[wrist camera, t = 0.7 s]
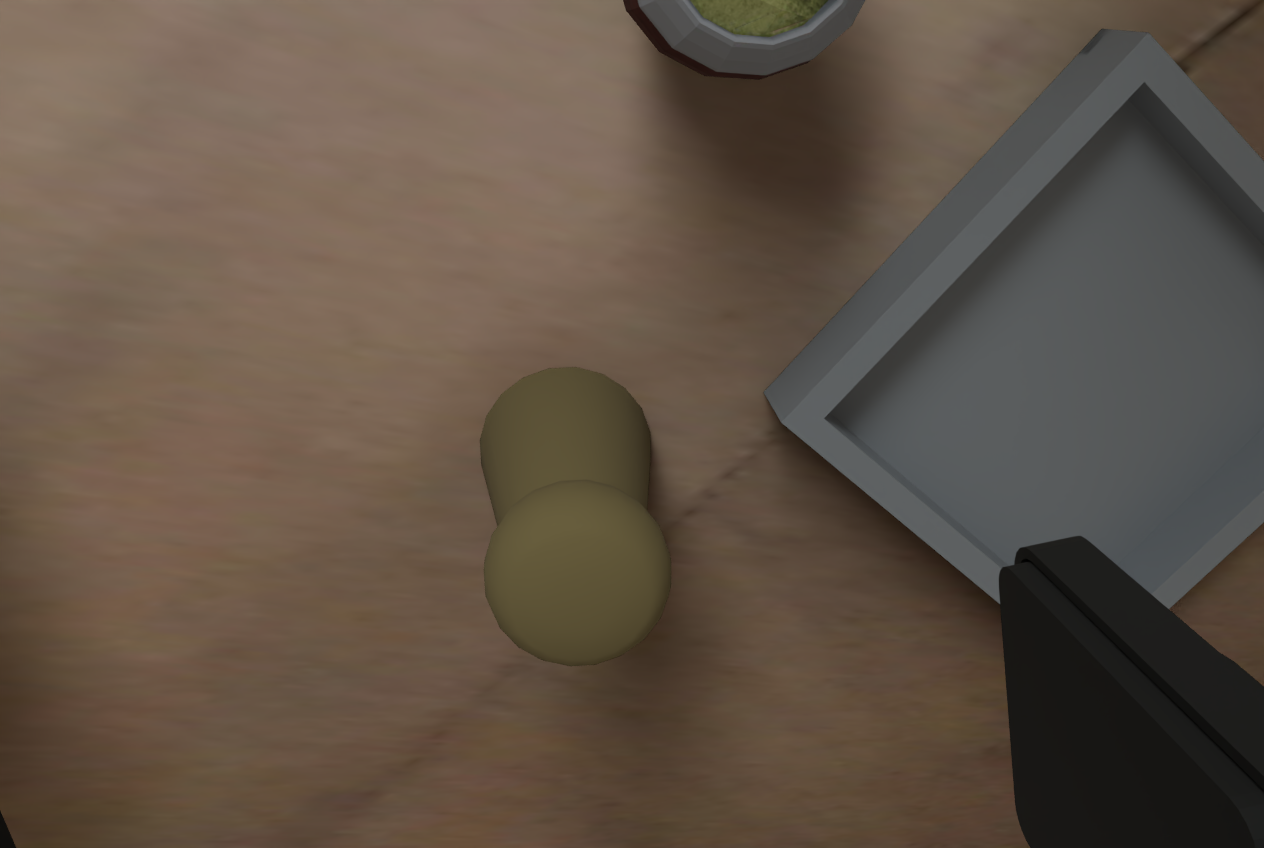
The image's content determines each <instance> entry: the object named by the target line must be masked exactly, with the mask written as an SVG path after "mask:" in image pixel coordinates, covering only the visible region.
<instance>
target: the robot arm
mask: <svg viewBox="0 0 1264 848" xmlns="http://www.w3.org/2000/svg"><path fill="white" fill-rule="evenodd" d="M999 595H1000V608H1001V622H1002V635H1003V648H1004V662H1005V675H1006V688H1007V701H1008V715H1009V728H1010V741H1011V755H1012V768H1013V781H1014V795H1015V805H1016V811H1017V816H1018V820H1019V823H1020V826H1021V829H1022V832H1023V834H1024V836H1025V839H1026V841H1027V842H1028V844H1029V846H1030V848H1264V687H1263V686H1262V685H1261V684H1260V683H1259V682H1258V681H1256V680H1255V679H1254V678H1253V677H1252V676H1250V675H1249V674H1248V673H1247V672H1246V671H1245V670H1243V669H1242V668H1241V667H1240V666H1239V665H1238V664H1236V663H1235V662H1234V661H1232V660H1231V659H1229V658H1227V657H1226V656H1224V655H1223V654H1221V653H1219V652H1218V651H1217V650H1216V649H1215V648H1213V647H1212V646H1211V645H1210V644H1209V643H1208V642H1206V641H1205V640H1204V639H1203V638H1202V637H1201V636H1199V635H1198V634H1197V633H1196V632H1195V631H1194V630H1192V629H1191V628H1190V627H1189V626H1188V625H1187V624H1185V623H1184V622H1183V621H1182V620H1181V619H1180V618H1178V617H1177V616H1176V615H1175V614H1174V613H1173V612H1171V611H1170V610H1169V609H1168V608H1167V607H1166V606H1164V605H1163V604H1162V603H1161V602H1160V601H1159V600H1157V599H1156V598H1155V597H1154V596H1153V595H1151V594H1150V593H1149V592H1148V591H1147V590H1146V589H1144V588H1143V587H1142V586H1141V585H1140V584H1139V583H1137V582H1136V581H1135V580H1134V579H1133V578H1132V577H1130V576H1129V575H1128V574H1127V573H1126V572H1125V571H1123V570H1122V569H1121V568H1120V567H1119V566H1118V565H1116V564H1115V563H1114V562H1113V561H1112V560H1111V559H1109V558H1108V557H1107V556H1106V555H1105V554H1104V553H1102V552H1101V551H1100V550H1099V549H1098V548H1097V547H1095V546H1094V545H1093V544H1092V543H1091V542H1090V541H1088V540H1087V539H1085V538H1084V537H1082V536H1073V537H1069V538H1064V539H1059V540H1054V541H1050V542H1045V543H1040V544H1035V545H1031V546H1026V547H1021V548H1019V550H1018V551H1017V552H1016V556H1015V560H1014V565H1011V566H1006V567H1002V569H1001V570H1000V573H999ZM0 848H16V846H15V844H14V842H13V839H12V837H11V835H10V832H9V830H8V828H7V825H6V823H5V821H4V818H3V816H2V814H1V811H0Z"/></svg>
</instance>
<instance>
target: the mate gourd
mask: <svg viewBox="0 0 1264 848" xmlns="http://www.w3.org/2000/svg"><path fill="white" fill-rule="evenodd" d="M623 1H624V5H625V8H626V11H627V12H628V13H629V15H630V16H631V17H632V18H633V20H634V21H635V22H636V23H637V25H638V26H639V27H640V28H641V30H642V31H643V32H644V33H645V34H646V36H647V37H648V38H649V39H650V41H651V42H652V43H653V44H654V46H655V47H656V48H657V49H658V51H659V52H661V53H662V54H664V55H666V56H668V57H670V58H672V59H674V60H676V61H678V62H679V63H681V64H683V65H685V66H687V67H689V68H691V69H693V70H694V71H696V72H698V73H700V74H702V75H704V76H713V77H728V78H743V79H762V78H765V77H768V76H771V75H774V74H777V73H780V72H782V71H785V70H788V69H791V68H794V67H797V66H800V65H803V64H806V63H808V62H809V61H810V60H812V59H814V58H815V57H816V56H817V55H818V54H819V53H820V52H822V51H823V50H824V49H825V48H826V47H827V46H828V45H830V44H831V43H832V42H833V41H834V40H835V39H837V38H838V37H839V36H840V35H841V34H842V33H843V32H845V31H846V30H847V29H848V28H849V27H850V26H851V25H852V24H853V22H854V20H855V18H856V16H857V15H858V13H859V11H860V9H861V7H862V5H863V3H864V2H865V0H623Z"/></svg>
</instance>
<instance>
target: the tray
mask: <svg viewBox="0 0 1264 848" xmlns="http://www.w3.org/2000/svg"><path fill="white" fill-rule="evenodd" d="M764 394H765V396H766V397H767V399H768V401H769V403H770V404H771V406H772V408H773V409H774V411H775V413H776V414H777V416H778V418H779V420H780V421H781V423H782V424H784V425H785V426H786V427H787V428H788V429H790V430H791V431H792V432H793V433H794V434H796V435H797V436H798V437H799V438H800V439H802V440H803V441H804V442H805V443H806V444H808V445H809V446H810V447H811V448H812V449H814V450H815V451H816V452H817V453H818V454H820V455H821V456H822V457H823V458H825V459H826V460H827V461H828V462H829V463H831V464H832V465H833V466H834V467H835V468H837V469H838V470H839V471H840V472H841V473H843V474H844V475H845V476H846V477H847V478H849V479H850V480H851V481H852V482H853V483H855V484H856V485H857V486H858V487H859V488H861V489H862V490H863V491H864V492H865V493H867V494H868V495H869V496H870V497H871V498H873V499H874V500H875V501H876V502H877V503H879V504H880V505H881V506H882V507H883V508H885V509H886V510H887V511H888V512H890V513H891V514H892V515H893V516H894V517H896V518H897V519H898V520H899V521H900V522H902V523H903V524H904V525H905V526H906V527H908V528H909V529H910V530H911V531H912V532H914V533H915V534H916V535H917V536H918V537H920V538H921V539H922V540H923V541H924V542H926V543H927V544H928V545H929V546H930V547H932V548H933V549H934V550H935V551H936V552H938V553H939V554H940V555H941V556H942V557H944V558H945V559H946V560H947V561H949V562H950V563H951V564H952V565H953V566H955V567H956V568H957V569H958V570H959V571H961V572H962V573H963V574H964V575H965V576H967V577H968V578H969V579H970V580H971V581H973V582H974V583H975V584H976V585H977V586H979V587H980V588H981V589H982V590H983V591H985V592H986V593H987V594H988V595H989V596H991V597H992V598H993V599H994V600H995V601H997V602H998V603H999V604H1000V595H999V573H1000V570H1001V569H1002V567H1006V566H1011V565H1014V560H1015V556H1016V552H1017V551H1018V550H1019V548H1021V547H1026V546H1031V545H1035V544H1040V543H1045V542H1050V541H1054V540H1059V539H1064V538H1069V537H1073V536H1082V537H1084V538H1085V539H1087V540H1088V541H1090V542H1091V543H1092V544H1093V545H1094V546H1095V547H1097V548H1098V549H1099V550H1100V551H1101V552H1102V553H1104V554H1105V555H1106V556H1107V557H1108V558H1109V559H1111V560H1112V561H1113V562H1114V563H1115V564H1116V565H1118V566H1119V567H1120V568H1121V569H1122V570H1123V571H1125V572H1126V573H1127V574H1128V575H1129V576H1130V577H1132V578H1133V579H1134V580H1135V581H1136V582H1137V583H1139V584H1140V585H1141V586H1142V587H1143V588H1144V589H1146V590H1147V591H1148V592H1149V593H1150V594H1151V595H1153V596H1154V597H1155V598H1156V599H1157V600H1159V601H1160V602H1161V603H1162V604H1163V605H1164V606H1166V607H1167V608H1168V609H1169V608H1171V607H1172V606H1173V605H1174V604H1175V603H1176V602H1177V601H1178V600H1179V599H1180V598H1181V597H1183V596H1184V595H1185V594H1186V593H1187V592H1188V591H1189V590H1190V589H1191V588H1192V587H1193V586H1195V585H1196V584H1197V583H1198V582H1199V581H1200V580H1201V579H1202V578H1203V577H1204V576H1206V575H1207V574H1208V573H1209V572H1210V571H1211V570H1212V569H1213V568H1214V567H1215V566H1216V565H1218V564H1219V563H1220V562H1221V561H1222V560H1223V559H1224V558H1225V557H1226V556H1227V555H1228V554H1230V553H1231V552H1232V551H1233V550H1234V549H1235V548H1236V547H1237V546H1238V545H1239V544H1240V543H1242V542H1243V541H1244V540H1245V539H1246V538H1247V537H1248V536H1249V535H1250V534H1251V533H1252V532H1254V531H1255V530H1256V529H1257V528H1258V527H1259V526H1260V525H1261V524H1262V523H1263V522H1264V161H1263V160H1262V159H1261V158H1260V156H1259V155H1258V154H1257V153H1256V152H1255V151H1254V150H1253V149H1252V147H1251V146H1250V145H1249V144H1248V143H1247V142H1246V141H1245V140H1244V139H1243V137H1242V136H1241V135H1240V134H1239V133H1238V132H1237V131H1236V130H1235V128H1234V127H1233V126H1232V125H1231V124H1230V123H1229V122H1228V121H1227V120H1226V118H1225V117H1224V116H1223V115H1222V114H1221V113H1220V112H1219V111H1218V109H1217V108H1216V107H1215V106H1214V105H1213V104H1212V103H1211V102H1210V101H1209V99H1208V98H1207V97H1206V96H1205V95H1204V94H1203V93H1202V92H1201V90H1200V89H1199V88H1198V87H1197V86H1196V85H1195V84H1194V83H1193V82H1192V80H1191V79H1190V78H1189V77H1188V76H1187V75H1186V74H1185V73H1184V71H1183V70H1182V69H1181V68H1180V67H1179V66H1178V65H1177V64H1176V63H1175V61H1174V60H1173V59H1172V58H1171V57H1170V56H1169V55H1168V54H1167V53H1166V51H1165V50H1164V49H1163V48H1162V47H1161V46H1160V45H1159V44H1158V42H1157V41H1156V40H1155V39H1154V38H1153V37H1152V36H1151V35H1150V34H1149V33H1147V32H1134V31H1122V30H1110V29H1101V30H1100V31H1099V32H1098V34H1097V35H1096V36H1095V37H1094V38H1093V39H1092V40H1091V41H1090V42H1089V43H1088V44H1087V45H1086V46H1085V47H1084V49H1083V50H1082V51H1081V52H1080V53H1079V54H1078V55H1077V56H1076V57H1075V58H1074V59H1073V60H1072V61H1071V63H1070V64H1069V65H1068V66H1067V67H1066V68H1065V69H1064V70H1063V71H1062V72H1061V73H1060V74H1059V75H1058V77H1057V78H1056V79H1055V80H1054V81H1053V82H1052V83H1051V84H1050V85H1049V86H1048V87H1047V88H1046V89H1045V90H1044V92H1043V93H1042V94H1041V95H1040V96H1039V97H1038V98H1037V99H1036V100H1035V101H1034V102H1033V103H1032V104H1031V106H1030V107H1029V108H1028V109H1027V110H1026V111H1025V112H1024V113H1023V114H1022V115H1021V116H1020V117H1019V118H1018V119H1017V121H1016V122H1015V123H1014V124H1013V125H1012V126H1011V127H1010V128H1009V129H1008V130H1007V131H1006V132H1005V133H1004V135H1003V136H1002V137H1001V138H1000V139H999V140H998V141H997V142H996V143H995V144H994V145H993V146H992V147H991V149H990V150H989V151H988V152H987V153H986V154H985V155H984V156H983V157H982V158H981V159H980V160H979V161H978V162H977V164H976V165H975V166H974V167H973V168H972V169H971V170H970V171H969V172H968V173H967V174H966V175H965V176H964V178H963V179H962V180H961V181H960V182H959V183H958V184H957V185H956V186H955V187H954V188H953V189H952V190H951V191H950V193H949V194H948V195H947V196H946V197H945V198H944V199H943V200H942V201H941V202H940V203H939V204H938V205H937V207H936V208H935V209H934V210H933V211H932V212H931V213H930V214H929V215H928V216H927V217H926V218H925V219H924V221H923V222H922V223H921V224H920V225H919V226H918V227H917V228H916V229H915V230H914V231H913V232H912V233H911V234H910V236H909V237H908V238H907V239H906V240H905V241H904V242H903V243H902V244H901V245H900V246H899V247H898V248H897V250H896V251H895V252H894V253H893V254H892V255H891V256H890V257H889V258H888V259H887V260H886V261H885V262H884V263H883V265H882V266H881V267H880V268H879V269H878V270H877V271H876V272H875V273H874V274H873V275H872V276H871V277H870V279H869V280H868V281H867V282H866V283H865V284H864V285H863V286H862V287H861V288H860V289H859V290H858V291H857V292H856V294H855V295H854V296H853V297H852V298H851V299H850V300H849V301H848V302H847V303H846V304H845V305H844V306H843V308H842V309H841V310H840V311H839V312H838V313H837V314H836V315H835V316H834V317H833V318H832V319H831V320H830V322H829V323H828V324H827V325H826V326H825V327H824V328H823V329H822V330H821V331H820V332H819V333H818V334H817V335H816V337H815V338H814V339H813V340H812V341H811V342H810V343H809V344H808V345H807V346H806V347H805V348H804V349H803V351H802V352H801V353H800V354H799V355H798V356H797V357H796V358H795V359H794V360H793V361H792V362H791V363H790V364H789V366H788V367H787V368H786V369H785V370H784V371H783V372H782V373H781V374H780V375H779V376H778V377H777V378H776V380H775V381H774V382H773V383H772V384H771V385H770V386H769V387H768V388H767V389H766V390H765V391H764Z"/></svg>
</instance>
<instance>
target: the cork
mask: <svg viewBox="0 0 1264 848" xmlns="http://www.w3.org/2000/svg"><path fill="white" fill-rule="evenodd" d="M480 450H481V464H482V469H483V473H484V476H485V480H486V484H487V488H488V492H489V495H490V499H491V503H492V507H493V511H494V515H495V518H496V522H497V526H498V527H497V528H496V530H495V531H494V532H493V534H492V536H491V540H490V543H489V547H488V550H487V554H486V557H485V562H484V581H485V595H486V598H487V600H488V603H489V605H490V607H491V609H492V612H493V614H494V616H495V618H496V620H497V622H498V625H499V627H500V629H501V630H502V631H503V632H504V633H505V634H506V635H507V636H508V637H509V638H510V639H511V640H512V641H513V642H514V643H515V644H516V645H517V646H518V647H519V648H521V649H523V650H524V651H526V652H528V653H530V654H532V655H534V656H536V657H537V658H539V659H541V660H544V661H548V662H553V663H558V664H563V665H567V666H581V665H595V664H598V663H601V662H604V661H607V660H610V659H613V658H616V657H618V656H621V655H622V654H624V653H625V652H627V651H628V650H630V649H631V648H632V647H634V646H635V645H637V644H638V643H640V642H641V641H642V640H644V639H645V638H646V636H647V635H648V634H649V632H650V631H651V630H652V629H653V627H654V626H655V625H656V623H657V622H658V621H659V620H660V618H661V615H662V612H663V610H664V607H665V604H666V601H667V598H668V595H669V592H670V588H671V558H670V554H669V551H668V548H667V545H666V543H665V540H664V537H663V535H662V532H661V529H660V527H659V525H658V523H657V522H656V521H655V520H654V519H653V518H652V516H651V515H650V514H649V513H648V512H647V506H648V490H649V474H650V458H651V449H650V430H649V427H648V424H647V422H646V419H645V416H644V413H643V411H642V408H641V407H640V406H639V404H638V403H637V402H636V401H635V400H634V398H633V397H632V396H631V395H630V393H629V392H628V391H627V390H626V389H625V388H624V387H622V386H621V385H619V384H618V383H616V382H614V381H613V380H611V379H610V378H608V377H607V376H605V375H603V374H600V373H597V372H593V371H589V370H585V369H581V368H577V367H571V368H549V369H546V370H543V371H540V372H538V373H535V374H532V375H529V376H527V377H524V378H522V379H521V380H519V381H518V382H517V383H515V384H514V385H513V386H512V387H510V388H509V389H508V390H506V391H505V392H504V393H502V394H501V396H500V397H499V398H498V400H497V401H496V403H495V404H494V406H493V407H492V409H491V410H490V412H489V413H488V414H487V416H486V420H485V423H484V427H483V431H482V434H481V438H480Z"/></svg>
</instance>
